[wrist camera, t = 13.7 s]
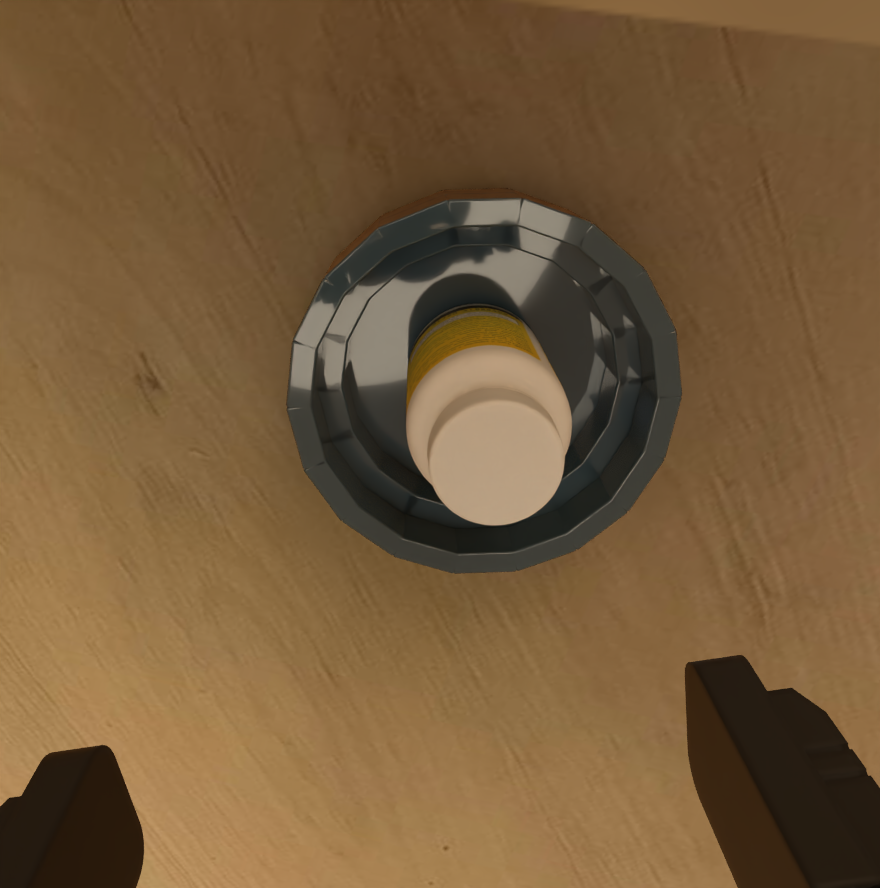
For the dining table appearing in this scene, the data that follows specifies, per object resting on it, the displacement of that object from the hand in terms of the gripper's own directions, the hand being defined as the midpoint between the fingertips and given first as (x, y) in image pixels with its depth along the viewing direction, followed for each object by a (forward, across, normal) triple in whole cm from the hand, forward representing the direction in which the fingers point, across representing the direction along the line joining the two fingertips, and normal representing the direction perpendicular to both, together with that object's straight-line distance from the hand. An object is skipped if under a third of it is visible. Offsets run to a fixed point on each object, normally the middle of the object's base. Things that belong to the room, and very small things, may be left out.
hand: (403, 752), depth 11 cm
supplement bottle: (+23, -3, +2) cm, 23 cm away
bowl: (+23, -3, +2) cm, 23 cm away
